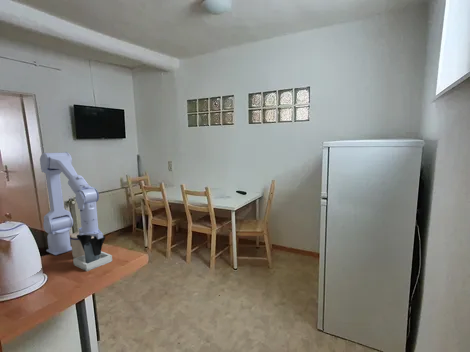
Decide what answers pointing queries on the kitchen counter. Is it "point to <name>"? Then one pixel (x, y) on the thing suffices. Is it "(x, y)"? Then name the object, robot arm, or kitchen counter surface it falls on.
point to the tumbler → (90, 253)
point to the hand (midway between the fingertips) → (92, 252)
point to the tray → (83, 265)
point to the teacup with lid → (77, 245)
